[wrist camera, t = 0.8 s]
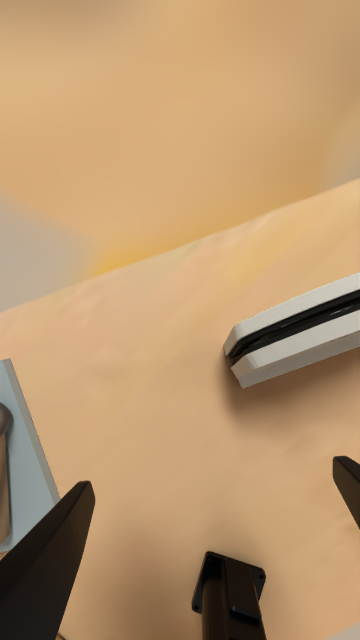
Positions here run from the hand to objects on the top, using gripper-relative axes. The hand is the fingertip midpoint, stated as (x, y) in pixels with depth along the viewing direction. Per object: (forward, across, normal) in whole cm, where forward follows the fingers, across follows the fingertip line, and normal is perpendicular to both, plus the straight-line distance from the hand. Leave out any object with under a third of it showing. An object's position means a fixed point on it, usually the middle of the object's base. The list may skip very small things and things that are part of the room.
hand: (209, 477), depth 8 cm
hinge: (+16, -11, 0) cm, 20 cm away
